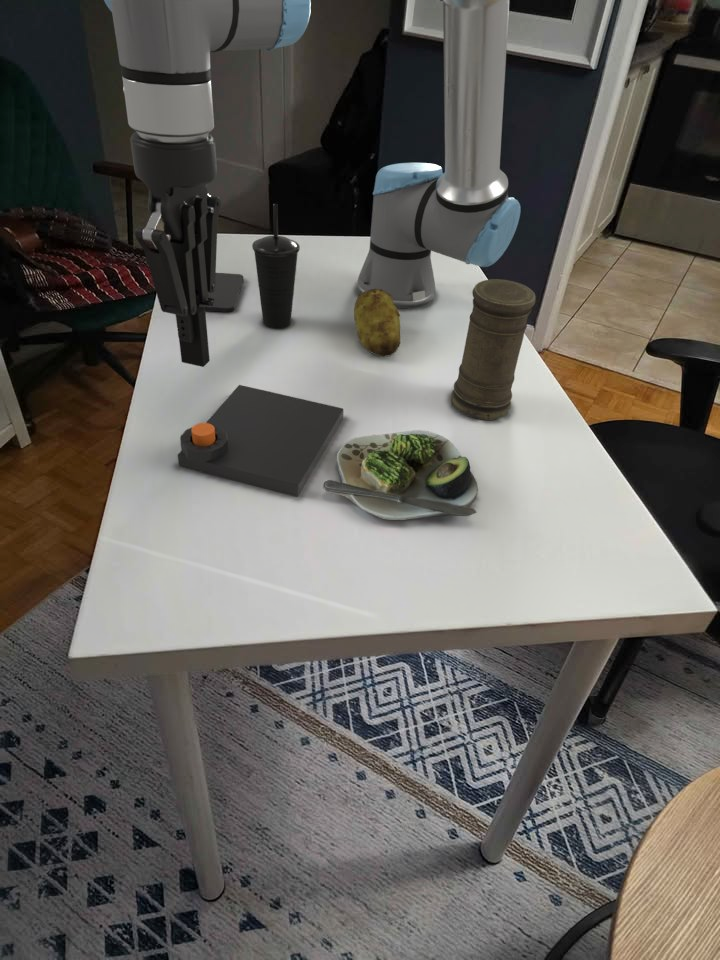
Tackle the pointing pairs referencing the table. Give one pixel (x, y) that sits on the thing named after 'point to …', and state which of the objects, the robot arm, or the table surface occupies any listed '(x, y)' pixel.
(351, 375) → the table surface
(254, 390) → the scale
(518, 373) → the table surface
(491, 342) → the container
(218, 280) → the phone
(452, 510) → the salad plate
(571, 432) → the table surface
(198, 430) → the button
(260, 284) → the drinking cup
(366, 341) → the potato
